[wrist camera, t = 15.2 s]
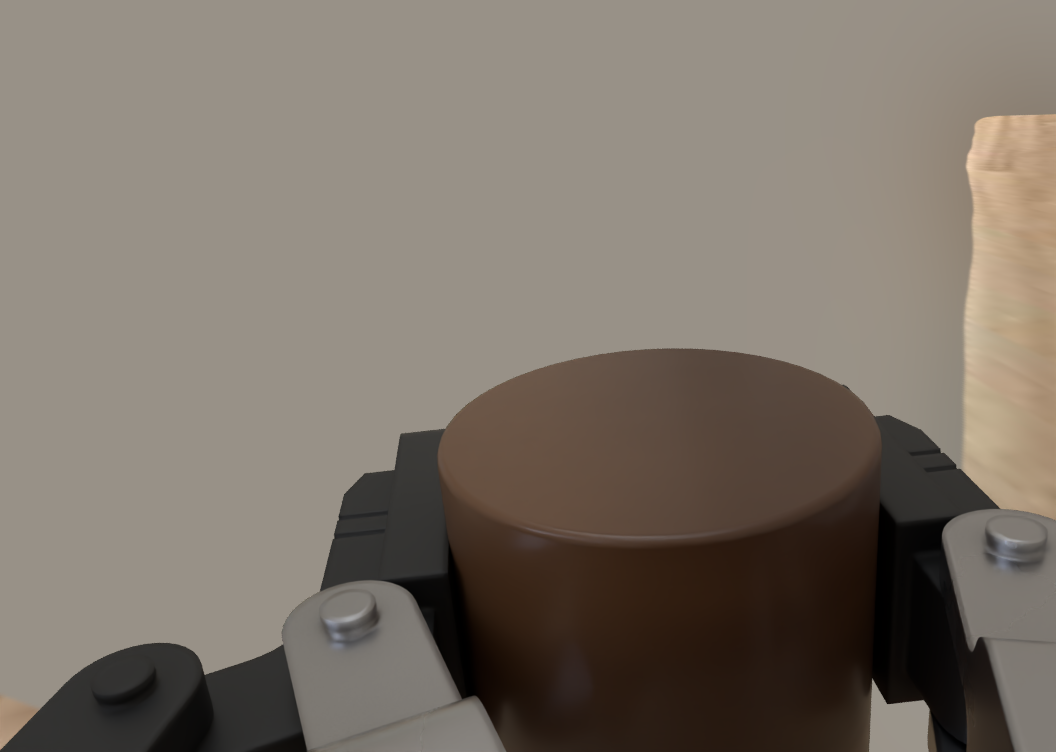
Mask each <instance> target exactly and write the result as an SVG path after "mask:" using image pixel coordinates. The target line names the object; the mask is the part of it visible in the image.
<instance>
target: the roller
mask: <svg viewBox="0 0 1056 752" xmlns="http://www.w3.org/2000/svg"><path fill="white" fill-rule="evenodd" d="M881 460H882V441H881V432H880V430H879V428H878V425H877V423H876V421H875V418H874V416H873V414H872V413H871V411H870V410H869V409H868V407H867V406H866V405H865V404H864V402H863V401H862V400H860V399H859V398H858V397H857V396H856V395H855V394H854V393H853V392H851V391H850V390H848V389H847V388H845V387H844V386H842V385H841V384H839V383H837V382H835V381H834V380H831V379H829V378H827V377H825V376H823V375H821V374H819V373H816V372H814V371H811V370H809V369H806V368H803V367H800V366H797V365H794V364H790V363H787V362H784V361H779V360H775V359H771V358H766V357H761V356H756V355H750V354H744V353H736V352H727V351H718V350H705V349H648V350H647V349H645V350H634V351H622V352H614V353H607V354H600V355H594V356H589V357H583V358H578V359H574V360H570V361H566V362H561V363H557V364H554V365H550V366H547V367H544V368H540V369H537V370H534V371H531V372H528V373H525V374H523V375H520V376H518V377H515V378H513V379H510V380H508V381H506V382H504V383H502V384H500V385H497V386H495V387H494V388H492V389H490V390H488V391H487V392H485V393H483V394H481V395H480V396H479V397H477V398H476V399H474V400H473V401H471V402H470V403H468V404H467V405H466V406H465V407H464V408H463V409H462V410H461V411H460V412H459V413H457V414H456V416H455V417H454V418H453V419H452V421H451V422H450V423H449V424H448V426H447V427H446V429H445V431H444V433H443V435H442V437H441V440H440V444H439V448H438V453H437V465H438V474H439V481H440V487H441V494H442V501H443V507H444V514H445V521H446V528H447V534H448V540H449V546H450V552H451V559H452V566H453V573H454V579H455V586H456V593H457V599H458V606H459V613H460V619H461V626H462V633H463V639H464V646H465V653H466V660H467V666H468V673H469V680H470V686H471V693H472V696H473V695H475V696H477V697H478V698H479V700H480V701H481V703H482V704H483V706H484V708H485V710H486V712H487V714H488V716H489V718H490V720H491V722H492V724H493V726H494V728H495V730H496V732H497V734H498V736H499V738H500V740H501V742H502V744H503V746H504V748H505V750H506V752H869V739H870V716H871V692H872V669H873V646H874V623H875V599H876V576H877V553H878V530H879V506H880V483H881Z"/></svg>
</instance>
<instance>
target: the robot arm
mask: <svg viewBox="0 0 1056 752" xmlns="http://www.w3.org/2000/svg"><path fill="white" fill-rule="evenodd" d="M842 386H844V387H845V388H847V389H848V390H850V389H849V388H848V387H847V386H845V385H842ZM850 391H851V390H850ZM851 392H852V391H851ZM874 418H875V421H876V423H877V425H878V428H879V430H880V432H881V441H882V460H881V483H880V506H879V530H878V553H877V576H876V599H875V623H874V646H873V669H872V678H873V680H874V682H875V684H876V685H877V687H878V689H879V691H880V692H881V694H882V696H883V698H884V699H885V701H886V703H887V704H894V703H902V702H911V701H919V700H924V701H925V702H926V704H927V705H928V707H929V709H930V712H929V726H928V749H929V752H1056V521H1055V520H1053V519H1051V518H1048V517H1044V516H1041V515H1038V514H1034V513H1029V512H1024V511H1018V510H1008V509H1000V508H999V507H998V506H997V505H996V504H995V503H994V502H993V501H992V500H991V499H990V498H989V497H988V496H987V495H986V494H985V493H984V492H983V491H982V490H981V489H980V488H979V487H978V486H977V485H976V484H975V483H974V482H973V481H972V480H971V479H970V478H969V477H968V476H967V475H966V474H965V473H964V472H963V471H962V470H961V469H957V468H956V464H955V463H954V462H953V461H952V460H951V459H950V458H949V457H948V456H947V455H946V454H945V453H941V452H940V448H938V446H937V445H936V444H935V443H934V442H933V441H932V440H931V439H930V438H929V437H928V436H927V435H926V434H924V432H923V431H922V430H920V429H918V428H916V427H913V426H911V425H909V424H907V423H905V422H903V421H900V420H898V419H896V418H894V417H892V416H890V415H886V416H876V417H875V416H874ZM444 431H445V429H441V430H440V429H439V430H430V431H421V432H413V433H404V434H401V435H400V439H399V446H398V452H397V458H396V465H395V470H392V471H383V472H375V473H365V474H364V475H363V476H362V477H361V478H360V479H359V480H358V481H357V482H356V483H355V484H354V485H353V486H352V487H351V488H350V489H349V490H348V491H347V492H346V493H345V494H344V497H343V501H342V506H341V509H340V514H339V521H337V525H336V529H335V533H334V537H335V538H334V539H333V541H332V545H331V549H330V553H329V557H328V561H327V565H326V569H325V573H324V578H323V581H322V585H321V589H320V592H318V593H316V594H315V595H313V596H311V597H309V598H307V599H306V600H305V601H303V602H302V603H301V604H300V605H298V606H297V607H296V608H295V609H294V610H293V611H292V612H291V613H290V615H289V616H288V617H287V619H286V621H285V623H284V625H283V629H282V641H283V645H281V646H280V647H278V648H276V649H275V650H273V651H271V652H269V653H267V654H264V655H262V656H260V657H257V658H255V659H252V660H250V661H246V662H243V663H240V664H238V665H234V666H231V667H228V668H225V669H222V670H219V671H216V672H213V673H209V674H206V675H204V672H203V668H202V664H201V662H200V660H199V658H198V656H197V655H196V654H195V653H194V652H193V651H191V650H190V649H188V648H186V647H183V646H180V645H177V644H170V643H152V644H143V645H138V646H133V647H130V648H127V649H124V650H120V651H117V652H115V653H112V654H110V655H107V656H105V657H103V658H101V659H99V660H97V661H95V662H93V663H92V664H90V665H88V666H87V667H85V668H84V669H82V670H81V671H80V672H78V673H77V674H75V675H74V676H73V677H72V678H71V679H70V680H69V681H68V682H66V683H65V684H64V686H63V687H61V689H60V690H59V691H58V692H57V693H56V694H55V695H54V696H53V697H52V698H51V699H50V700H49V701H48V702H47V703H46V704H45V705H44V706H43V707H42V708H41V709H40V710H39V711H38V712H37V713H36V714H35V715H34V716H33V717H32V718H31V719H30V720H29V721H28V722H27V723H26V724H25V725H24V726H23V728H22V729H21V730H20V731H19V732H18V733H17V734H16V735H15V736H14V737H13V738H12V739H11V740H10V741H9V742H8V743H7V744H6V745H5V746H4V747H3V748H2V749H1V750H0V752H506V750H505V748H504V746H503V744H502V742H501V740H500V738H499V736H498V734H497V732H496V730H495V728H494V726H493V724H492V722H491V720H490V718H489V716H488V714H487V712H486V710H485V708H484V706H483V704H482V703H481V701H480V700H479V698H478V697H477V696H475V695H473V696H472V693H471V686H470V680H469V673H468V666H467V660H466V653H465V646H464V639H463V633H462V626H461V619H460V613H459V606H458V599H457V593H456V586H455V579H454V573H453V566H452V559H451V552H450V546H449V540H448V534H447V528H446V521H445V514H444V507H443V501H442V494H441V487H440V481H439V474H438V465H437V453H438V448H439V444H440V440H441V437H442V435H443V433H444Z"/></svg>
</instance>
